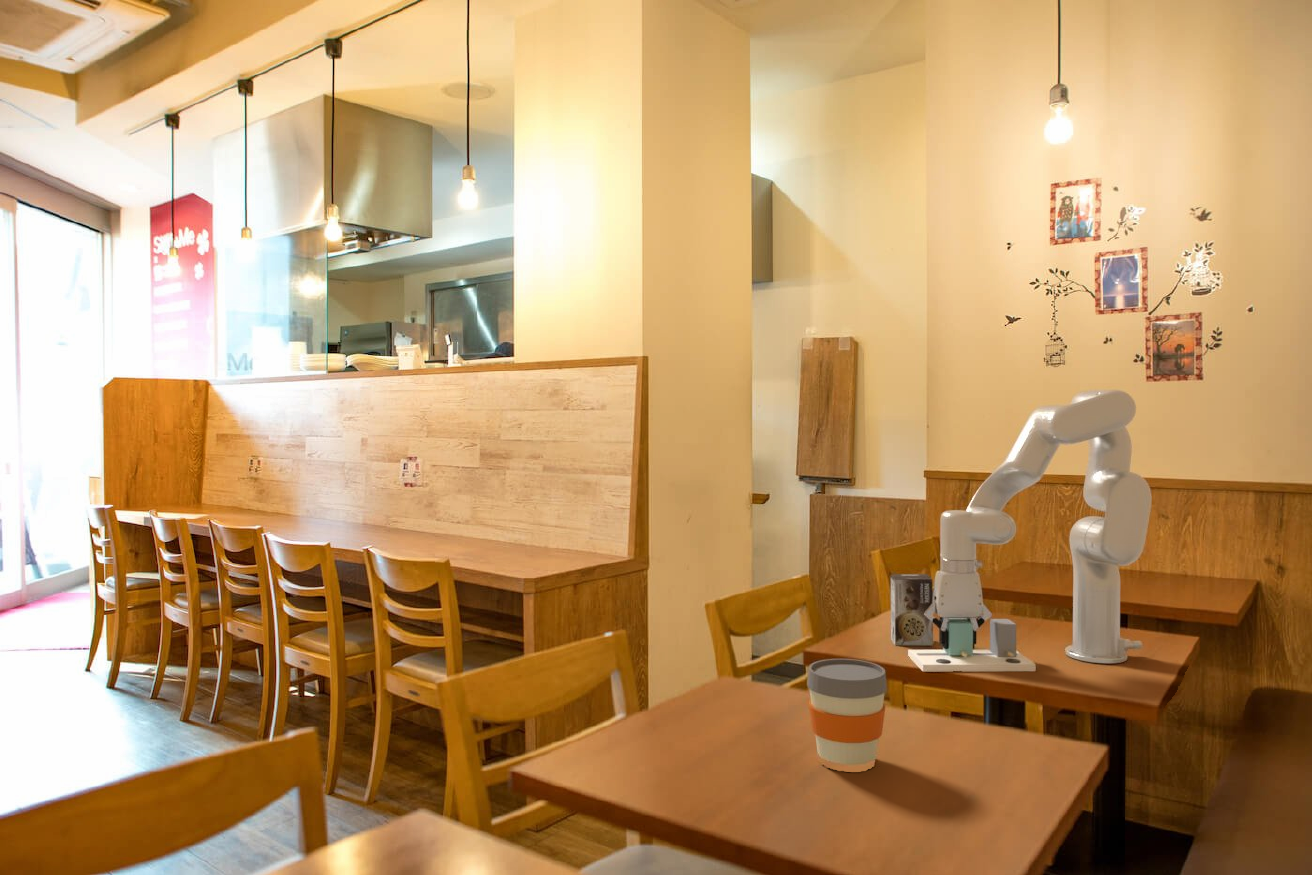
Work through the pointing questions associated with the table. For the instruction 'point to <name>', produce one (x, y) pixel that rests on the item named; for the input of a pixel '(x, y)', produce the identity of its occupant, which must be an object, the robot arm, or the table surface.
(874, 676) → the reusable coffee cup
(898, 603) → the coffee box
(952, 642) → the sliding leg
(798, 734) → the table surface
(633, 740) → the table surface
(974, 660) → the board
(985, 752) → the table surface
